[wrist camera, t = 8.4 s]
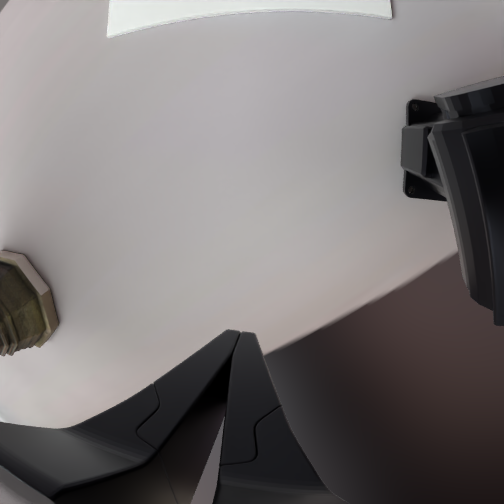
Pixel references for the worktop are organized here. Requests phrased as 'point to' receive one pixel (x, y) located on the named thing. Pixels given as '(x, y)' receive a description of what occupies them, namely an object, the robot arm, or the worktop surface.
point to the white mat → (225, 10)
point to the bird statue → (23, 305)
